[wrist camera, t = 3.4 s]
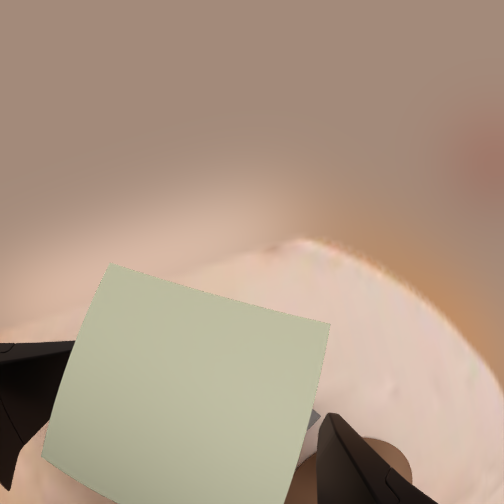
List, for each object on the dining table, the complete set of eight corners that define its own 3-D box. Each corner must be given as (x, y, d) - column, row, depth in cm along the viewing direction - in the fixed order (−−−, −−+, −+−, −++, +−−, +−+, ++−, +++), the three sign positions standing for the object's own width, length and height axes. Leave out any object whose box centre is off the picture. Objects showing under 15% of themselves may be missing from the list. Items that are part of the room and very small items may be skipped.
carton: (252, 462, 14) (266, 549, 4) (158, 433, 15) (41, 456, 5) (277, 375, 17) (330, 323, 7) (186, 349, 18) (110, 262, 7)
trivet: (343, 563, 10) (346, 566, 9) (251, 506, 13) (252, 509, 12) (429, 474, 13) (433, 475, 13) (350, 412, 16) (353, 412, 16)
